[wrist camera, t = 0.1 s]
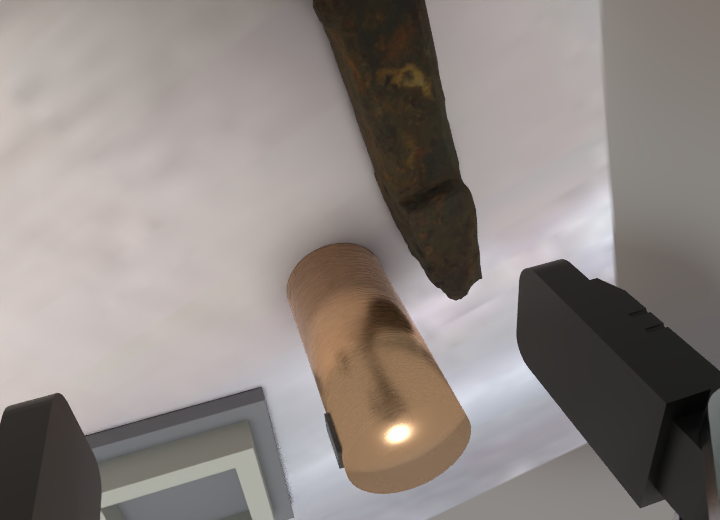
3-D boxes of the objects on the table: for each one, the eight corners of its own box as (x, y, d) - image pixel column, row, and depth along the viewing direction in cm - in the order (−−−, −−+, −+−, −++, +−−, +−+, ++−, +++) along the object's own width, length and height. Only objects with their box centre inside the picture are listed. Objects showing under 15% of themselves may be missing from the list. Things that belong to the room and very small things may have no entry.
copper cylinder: (276, 257, 30) (335, 428, 22) (379, 233, 31) (473, 387, 23) (291, 333, 33) (347, 509, 25) (384, 309, 35) (468, 470, 26)
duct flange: (40, 448, 33) (33, 497, 30) (261, 387, 35) (271, 427, 33) (111, 561, 40) (110, 607, 38) (291, 504, 42) (300, 544, 40)
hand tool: (207, -240, 19) (228, -256, 15) (349, -286, 20) (409, -315, 15) (372, 279, 34) (407, 347, 29) (453, 247, 34) (499, 310, 30)
